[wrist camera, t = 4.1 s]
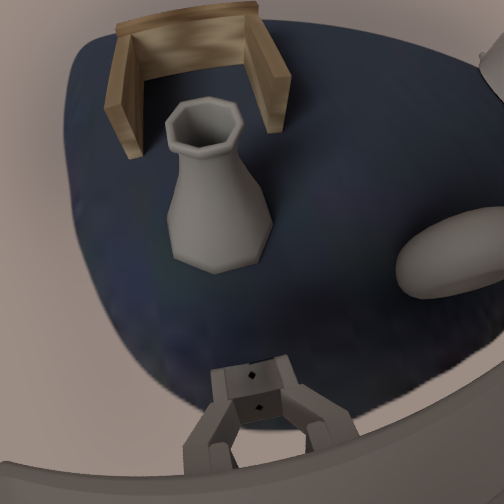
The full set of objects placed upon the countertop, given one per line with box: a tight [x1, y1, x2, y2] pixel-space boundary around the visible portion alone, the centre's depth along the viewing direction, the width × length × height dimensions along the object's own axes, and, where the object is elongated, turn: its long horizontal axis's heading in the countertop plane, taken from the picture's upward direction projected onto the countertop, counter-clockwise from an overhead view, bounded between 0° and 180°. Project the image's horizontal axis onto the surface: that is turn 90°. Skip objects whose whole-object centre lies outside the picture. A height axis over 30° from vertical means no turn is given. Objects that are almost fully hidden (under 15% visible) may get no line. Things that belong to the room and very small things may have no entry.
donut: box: [396, 206, 504, 299], centre depth 15 cm, size 10×4×10 cm, turn 94°
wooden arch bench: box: [104, 1, 292, 160], centre depth 21 cm, size 12×11×7 cm
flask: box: [165, 96, 273, 274], centre depth 16 cm, size 7×7×10 cm
